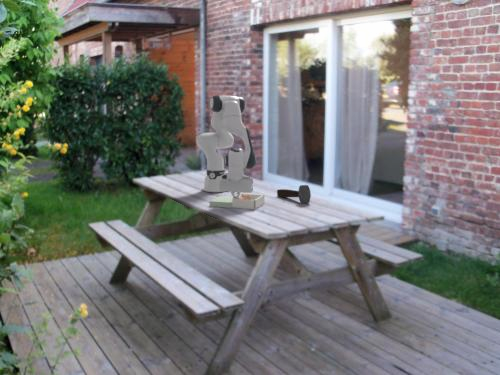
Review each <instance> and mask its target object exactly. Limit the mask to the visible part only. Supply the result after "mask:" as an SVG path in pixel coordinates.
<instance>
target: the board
mask: <svg viewBox="0 0 500 375" xmlns="http://www.w3.org/2000/svg"><path fill="white" fill-rule="evenodd" d="M232 199H233V196H229V195H227V196H226V195H220V196H217V197H216V198H213V199H211V200H209V207H214V208H227V209H229V208H230V209H233V208H232Z"/></svg>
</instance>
